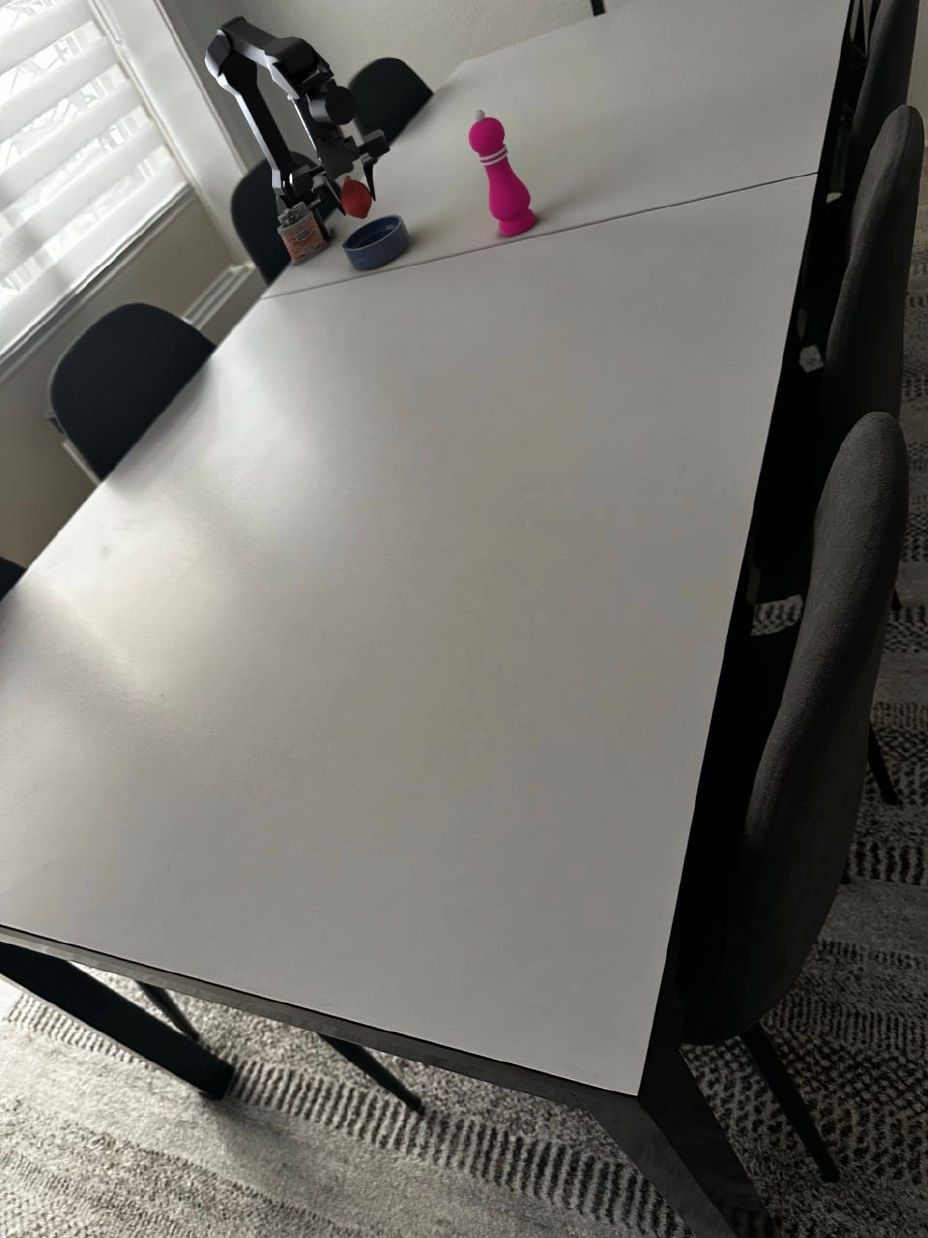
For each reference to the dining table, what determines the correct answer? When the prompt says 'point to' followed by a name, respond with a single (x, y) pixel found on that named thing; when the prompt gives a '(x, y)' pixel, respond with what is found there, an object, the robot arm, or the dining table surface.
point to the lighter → (300, 233)
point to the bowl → (376, 242)
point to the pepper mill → (501, 176)
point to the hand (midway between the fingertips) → (360, 207)
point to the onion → (355, 198)
